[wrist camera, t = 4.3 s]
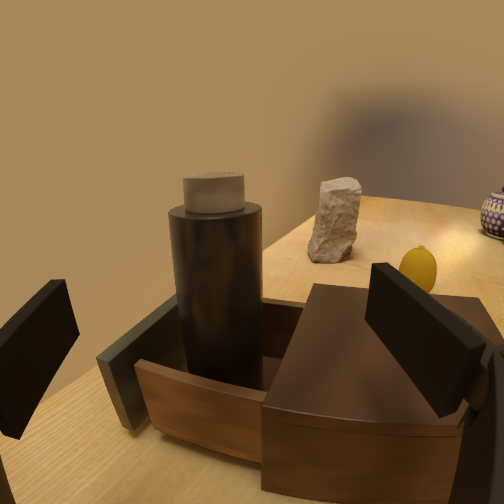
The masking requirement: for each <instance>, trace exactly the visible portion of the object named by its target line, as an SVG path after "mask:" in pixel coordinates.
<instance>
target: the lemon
mask: <svg viewBox="0 0 504 504" xmlns="http://www.w3.org/2000/svg"><path fill="white" fill-rule="evenodd" d="M399 272H401V273H402V274H403V275H404V276H406V277H407V278H408V279H410V280H411V281H412V282H414V283H415V284H416V285H417V286H419V287H420V288H421V289H423V290H424V291H425V292H426V293H428V294H429V292H430V291H431V290H432V288H433V286H434V284H435V281H436V274H437V267H436V261H435V258H434V257H433V255H432V254H431V253H430V252H429V251H428V250H426V249H425V248H424V246H419V247H418V248H414V249H412V250H410V251H409V252H407V253H406V255H405V256H404V257H403V259H402V261H401V264H400V267H399Z"/></svg>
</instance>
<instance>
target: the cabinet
mask: <svg viewBox="0 0 504 504" xmlns="http://www.w3.org/2000/svg"><path fill="white" fill-rule="evenodd" d="M368 292H369V289H367V288H356V287H346V286H336V285H326V284H316V283H314V284H313V286H312V289H311V291H310V294H309V296H308V299H307V302H306V304H305V307H304V309H303V311H302V314H301V316H300V319H299V321H298V324H297V326H296V328H295V331H294V333H293V336H292V338H291V340H290V343H289V345H288V347H287V350H286V352H285V354H284V357H283V359H282V361H281V363H280V366H279V368H278V370H277V372H276V375H275V377H274V379H273V381H272V384H271V386H270V388H269V390H268V392H267V394H266V397H265V399H264V401H263V403H262V405H261V490H264V491H269V492H273V493H278V494H283V495H288V496H293V497H298V498H304V499H310V500H317V501H324V502H332V503H341V504H448V501H449V497H450V493H451V489H452V485H453V481H454V476H455V472H456V467H457V462H458V457H459V451H460V446H461V439H462V433H463V425H464V423H463V424H462V425H461V427H460V428H459V429H457V426H458V424H459V422H460V420H461V418H462V416H463V415H464V413H465V411H466V409H467V407H468V405H469V404H468V403H467V401H466V400H465V399H464V398H463V401H462V403H461V405H460V407H459V408H458V410H457V412H455V413H453V414H450V415H448V416H446V417H443V418H440V419H439V417H438V416H437V415H436V413H435V412H434V410H433V409H432V408H431V406H430V405H429V404H428V402H427V401H426V399H425V398H424V397H423V395H422V394H421V393H420V391H419V390H418V389H417V387H416V386H415V385H414V383H413V382H412V381H411V379H410V378H409V377H408V375H407V374H406V373H405V371H404V370H403V369H402V367H401V366H400V365H399V363H398V362H397V361H396V359H395V358H394V357H393V356H392V354H391V353H390V352H389V350H388V349H387V348H386V346H385V345H384V344H383V343H382V341H381V340H380V339H379V337H378V336H377V335H376V334H375V332H374V331H373V330H372V329H371V327H370V326H369V325H368V323H367V322H366V321H365V320H364V319H365V313H366V306H367V299H368ZM429 295H430V296H431V297H433V298H434V299H435V300H436V301H438V302H439V303H440V304H441V305H443V306H444V307H445V308H447V309H449V310H451V311H453V312H455V313H457V314H459V315H460V316H461V317H462V318H464V319H465V320H466V322H468V323H470V324H471V325H472V326H473V328H476V329H477V330H478V331H479V332H480V333H482V334H483V335H484V336H485V337H486V338H487V339H489V340H490V341H491V342H492V343H493V344H494V345H495V346H497V345H499V344H502V343H503V344H504V339H503V337H502V335H501V334H500V332H499V330H498V328H497V327H496V325H495V323H494V322H493V320H492V318H491V317H490V315H489V314H488V312H487V310H486V309H485V307H484V306H483V304H482V302H481V301H480V299H479V298H475V297H461V296H448V295H435V294H429Z"/></svg>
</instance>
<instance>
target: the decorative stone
mask: <svg viewBox="0 0 504 504" xmlns="http://www.w3.org/2000/svg"><path fill="white" fill-rule="evenodd" d="M361 189H362V187H361V186H360V184H359V183H358V180H355V179H353V178H350V177H343V178H339V179H333V180H330V181H325V182H321V188H320V201H319V207H318V209H317V213H316V217H315V225H314V228H313V234H312V237H311V239H310V241H309V244H308V252H309V254H310V256H311V258H312V260H313V261H314V262H321V263H337V262H339V261H340V260H341V259H342V258H343V257H344V256H345V255H346V254H348V253H350V252H351V251H352V244H353V243H354V241H355V239H356V236H357V232H356V231H355V229H356V224H357V218H358V214H359V206H360V199H361V194H362V191H361Z"/></svg>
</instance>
